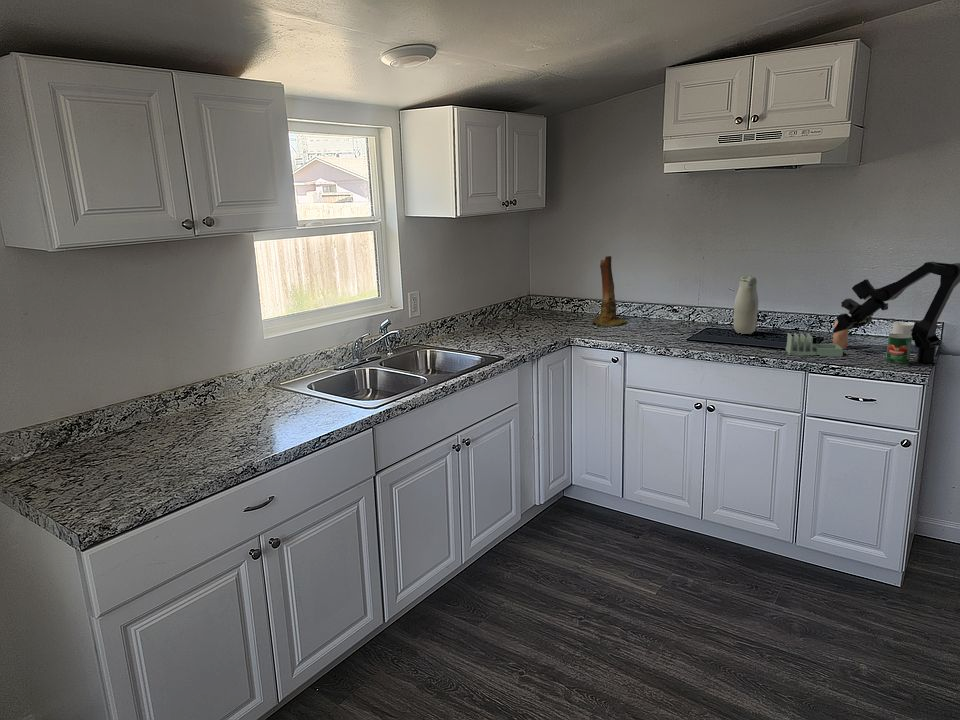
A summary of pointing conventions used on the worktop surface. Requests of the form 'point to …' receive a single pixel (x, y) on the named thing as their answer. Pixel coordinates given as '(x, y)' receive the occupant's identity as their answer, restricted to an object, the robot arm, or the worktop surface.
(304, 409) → the worktop surface
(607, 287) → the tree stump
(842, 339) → the orange rounded blob
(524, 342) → the worktop surface
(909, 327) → the white cup
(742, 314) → the glass bottle
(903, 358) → the canned tomato
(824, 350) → the dish rack
